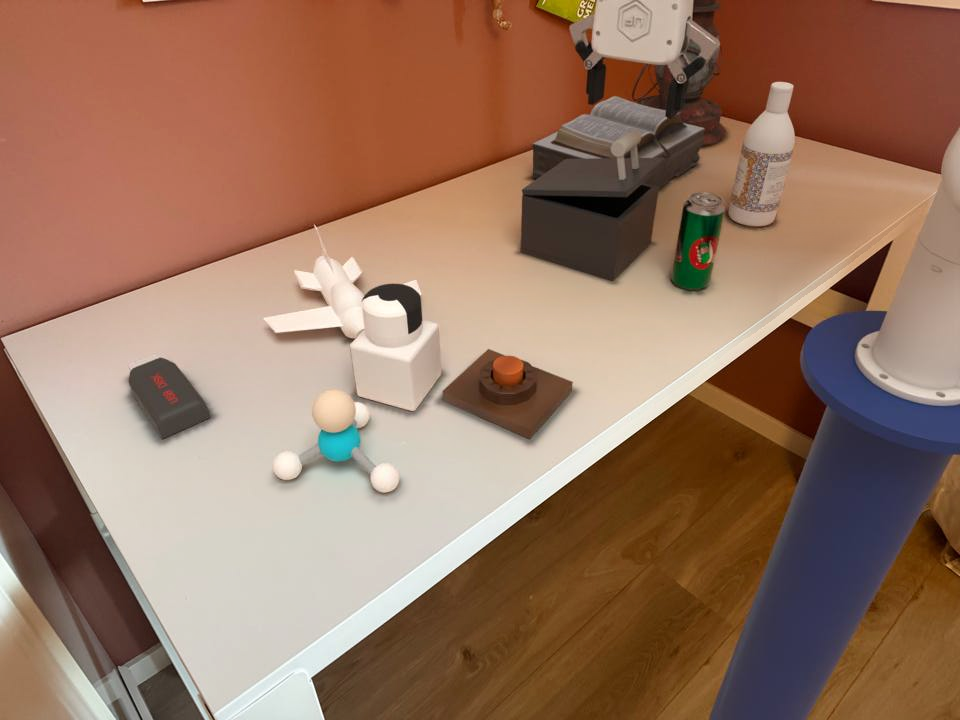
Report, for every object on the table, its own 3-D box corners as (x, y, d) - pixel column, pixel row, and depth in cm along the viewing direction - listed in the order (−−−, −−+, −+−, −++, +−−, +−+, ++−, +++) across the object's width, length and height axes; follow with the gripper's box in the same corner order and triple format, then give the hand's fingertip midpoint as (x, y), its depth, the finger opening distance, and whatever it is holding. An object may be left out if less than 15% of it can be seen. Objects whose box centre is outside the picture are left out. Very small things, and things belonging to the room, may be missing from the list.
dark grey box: (650, 243, 105) (659, 186, 99) (613, 281, 96) (620, 222, 91) (562, 218, 111) (566, 164, 106) (520, 252, 103) (521, 195, 97)
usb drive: (162, 440, 73) (154, 420, 72) (124, 382, 81) (116, 363, 79) (211, 417, 76) (204, 398, 74) (170, 364, 83) (163, 345, 82)
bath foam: (722, 207, 113) (750, 77, 101) (767, 207, 113) (800, 77, 101) (733, 228, 108) (763, 92, 96) (780, 228, 108) (816, 92, 95)
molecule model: (270, 508, 66) (250, 439, 61) (285, 421, 75) (269, 355, 70) (401, 497, 67) (392, 429, 61) (399, 413, 76) (392, 346, 71)
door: (666, 163, 97) (663, 119, 94) (626, 197, 89) (622, 151, 86) (566, 163, 106) (561, 124, 103) (522, 195, 97) (515, 153, 95)
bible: (720, 172, 124) (732, 115, 118) (609, 217, 111) (616, 156, 105) (622, 134, 139) (628, 82, 133) (514, 169, 126) (515, 113, 120)
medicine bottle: (387, 359, 83) (376, 270, 76) (442, 374, 81) (437, 283, 74) (356, 397, 78) (341, 305, 71) (414, 413, 76) (405, 320, 69)
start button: (528, 374, 77) (529, 361, 76) (512, 390, 75) (513, 377, 74) (503, 364, 78) (503, 351, 77) (487, 380, 76) (487, 367, 75)
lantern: (650, 107, 150) (671, -56, 132) (739, 125, 142) (775, -48, 123) (608, 135, 138) (625, -41, 120) (702, 156, 130) (737, -30, 111)
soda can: (675, 269, 99) (690, 187, 91) (712, 277, 97) (730, 194, 89) (666, 287, 95) (680, 203, 88) (704, 295, 93) (722, 211, 86)
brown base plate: (572, 391, 79) (573, 370, 77) (530, 439, 73) (530, 417, 71) (488, 358, 83) (488, 337, 82) (442, 400, 78) (441, 379, 76)
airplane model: (282, 372, 82) (269, 318, 77) (249, 290, 96) (236, 240, 91) (443, 328, 88) (441, 275, 84) (390, 256, 102) (385, 208, 98)
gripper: (561, -58, 75) (553, 105, 86) (724, -46, 68) (694, 131, 79) (591, -68, 80) (580, 88, 91) (746, -57, 73) (714, 110, 84)
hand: (633, 108), depth 85 cm, fingers open, 9 cm apart
